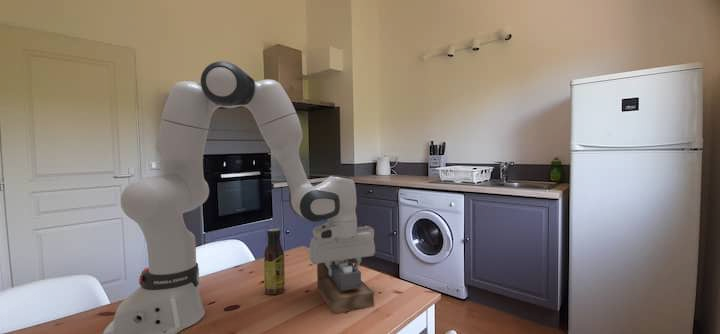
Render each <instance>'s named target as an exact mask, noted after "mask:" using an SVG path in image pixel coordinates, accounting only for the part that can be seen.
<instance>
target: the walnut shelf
mask: <svg viewBox="0 0 720 334" xmlns="http://www.w3.org/2000/svg"><path fill="white" fill-rule="evenodd" d="M347 260H348V261H349V262H350V263H351V264H353V265H354V259H347ZM316 271H317V272H316V273H317V275H316V276H317V277H316V280H317V290H318V292H319V293H320V295H321V297H322V298H323V300H324V302H325V303H326V305H327V306H328V308H329V310H330V311H331V313H332V314H333V315H335V314H341V313H347V312H352V311H356V310H362V309H364V308H371V307H375V301H374V299H375V298H374V295H375V293H374V291H373V290H372V289H371V288H370V287H369V286H368V285H367V284H366V283H365V282H363V280H361V288H356V289H350V290H344V291H341V290H340V289H339V288H338V286H337V285H336V284H335V283H334V281H333V280H332V279H331V277H330V276H329V275H328V268H327V266H326V265H325V263H318V264H316Z"/></svg>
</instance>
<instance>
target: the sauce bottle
mask: <svg viewBox="0 0 720 334" xmlns="http://www.w3.org/2000/svg"><path fill="white" fill-rule="evenodd" d="M266 231H267V232H266V233H267V234H266V235H267V246H266V247H265V249H264V255H263V256H264V261H263V262H264V263H263V264H264V267H263V269H264V272H263V273H264V274H263V275H264V288H265V290H264V291H265V293H266V294H268V295H279V294H280V293H283V292H284V291H285V283H286V282H285V280H286V279H285V276H286V275H285V252H284V249H283V247H282V244H281V228H270V229H267V230H266Z"/></svg>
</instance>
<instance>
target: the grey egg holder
mask: <svg viewBox="0 0 720 334" xmlns="http://www.w3.org/2000/svg"><path fill="white" fill-rule="evenodd" d="M329 266H330V268H333V269H334V270H335V275H334V276H330V277H331V279H332V280H333V281H334V283H335V284H336V285H337V286H338V288H339V289H340V290H341V291H344V290H350V289H356V288H361V281H362V277H361V275H362V272H361V271H360V270H359V268H358V269H357V268H356V267H355V266H354V263H353V264H351V263H350V262H349V261H348V260H340V261H333V262H331V265H329ZM328 275H329V269H328Z"/></svg>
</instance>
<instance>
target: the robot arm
mask: <svg viewBox="0 0 720 334" xmlns="http://www.w3.org/2000/svg"><path fill="white" fill-rule="evenodd" d="M243 107H244V108H245V109H248V110H249V112H250V113H251V114H252V116H253V118H254V121H255V123H256V125H257V127H258V129H259V132H260V134H261V136H262V138H263V140H264V141H265V143H266V145H267V146H268V148H269V149H270V151H271V152H272V154H273V155H274V157H275V158H276V161H277V162H278V164H279V167H280V169H281V171H282V174H283V177H284V179H285V181H286V185H287V186H288V192H289V194H288V195H289V196H288V201H289V202H288V203H289V206H290V209H291V211H292V212H293V213H294V214H295V215H297V216H300V217H301V218H303V219H305V220H306V221H309V222H313V223H314V222H321V221H326V220H327V221H326V222H325V223H323V224H321V225H317V226H315V227H313V228H312V235H313V236H312V237H311V239H310V243H309V252H308V257H309V260H310V262H311V263H312V264H314V265H317V264H318V263H325V265H326V266H327V268H328V269H329V276H334V275H335V270H334V269H333V268H330V266H329V265H331V262H333V261H340V260H347V259H353V260H355V262H354V263H353V265H354V266H355V267H356V268H357V269H358V270H359V266H360V264H361V262H362V258H366V257H367V258H368V257H373V256H374V255H375V253H376V245H375V244H376V243H375V241H374V238H375V229H374V228H373V227H372V226H370V225H365V226H358V217H357V213H356V210H357V209H356V208H357V189H356V184H355V181H354V180H353V178H351V177H349V176H344V175H336V174H332V175H329V176H328V178H326V179H324V180H323V181H322V182H320V183H318V184H315V185H313V184H311V182H310V181H309V180H308V176H307V174H306V172H305V169H304V166H303V164H302V162H301V158H300V146H301V143H302V141H303V136H304V134H303V130H302V126H301V122H300V119H299V116H298V113H297V111H296V110H295V106H294V104H293V102H292V101H291V99H290V97H289V96H288V93H287V91H285V88H283V86H282V84H281V83H280V82H278V81H277V80H275V79H267V78H266V79H262V80H258V81H255V80H254V78H252V77H251V75H249V74H247V73H246V72H245V71H244V70H242V69H241V68H240V67H238V65H236V64H234V63H231V62H228V61H219V60H218V61H215V62H212V63H210V64H209V65H207V66H206V67H205V68H204V69H203V71H202V73H201V76H200V82H196V81H190V80H182V81H178V82H177V83H175V84H174V85H173V86H172V88H171V90H170V92H169V94H168V96H167V99H166V102H165V105H164V108H163V111H162V114H161V119H160V124H159V129H158V133H157V137H156V138H157V139H156V143H155V150H156V152H157V154H158V155H159V156H160V157H161V160H162V163H163V171H162V172H163V173H162V175H153V176H147V177H143V178H141V179H138V180H136V181H133V182H131V183H130V184H128V185H127V186H126V187H125V188H124V189H123V190H122V193H121V196H120V206H121V209H122V211H123V213H124V214H125V215H126V216H127V217H128V218H129V219H130V220H133V222H135V223H137V225H138V227H140V230H141V231H142V234H143V236H144V239H145V243H146V250H147V263H148V267H145V268H144V269H143V270H142V271H141V275H140V276H139V279H138V281H139V282H138V285H140V286H139V287H138V288H137V289H136V290H134V291H133V292H132V293H131V294H130V295H128V296H127V297H126V298H125V299H123V300H122V301H121V303H120V304H119V305H118V306H117V309H116V311H115V313H114V318H113V320H112V321H111V322H110V323H109V324H108V325H107V326H106V327H105V328H104V329H103V332H102V334H178V333H179V332H181V331H183V330H185V329H186V328H189V327H191V326H194V325H195V324H196V323H198V322H199V321H200V320H202V318H203V317H204V316H205V313H206V311H205V308H204V306H203V302H202V299H201V295H200V290H199V289H200V288H199V284H200V268H199V263H197V246H196V245H197V244H196V236H195V235H194V233H193V232H192V231H190V230H188V228H187V226H186V224H185V221H184V215H183V214H185V213H188V212H192V211H194V210H196V209H197V208H199V207H200V206H202V205H203V204H204V203H206V201H207V200H208V198H209V195H210V188H209V184H208V182H207V180H205V176H204V175H205V174H204V153H205V147H206V143H207V138H208V134H209V130H210V129H209V128H210V124H211V119H212V117H213V114H214V112H215V111H216V110H223V109H227V110H228V109H230V110H231V109H233V110H234V109H239V108H243Z"/></svg>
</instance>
